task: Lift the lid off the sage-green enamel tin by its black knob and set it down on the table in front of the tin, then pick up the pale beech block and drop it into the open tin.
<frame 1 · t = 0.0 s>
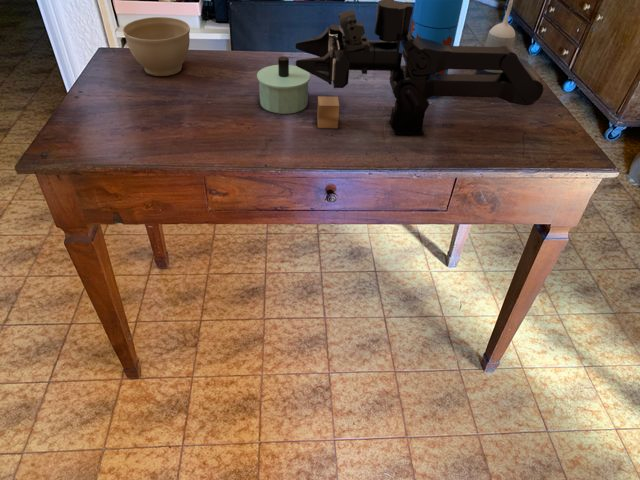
hand: (295, 54, 102), 17 cm above the table, tool horizontal, fingers open, 9 cm apart
block: (327, 123, 115), on the table
thermos: (422, 89, 131), on the table
planter bowl: (163, 70, 133), on the table
tin: (283, 102, 122), on the table
lid: (283, 77, 118), point 6 cm above the table, touching tin
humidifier: (489, 79, 137), on the table
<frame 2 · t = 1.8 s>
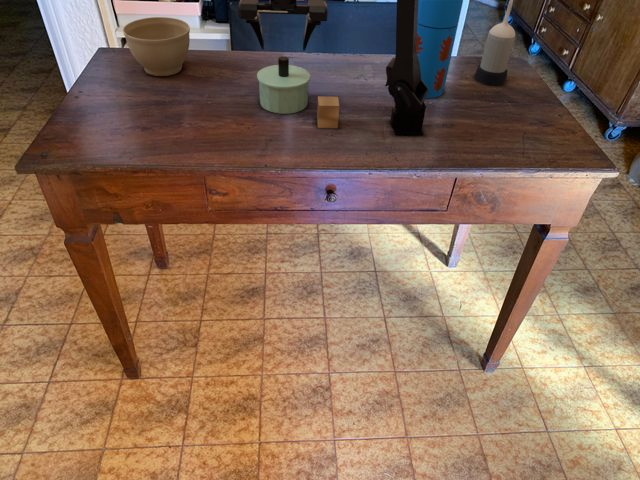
hand: (283, 49, 113), 13 cm above the table, tool pointing down, fingers open, 9 cm apart
nothing on the table moved.
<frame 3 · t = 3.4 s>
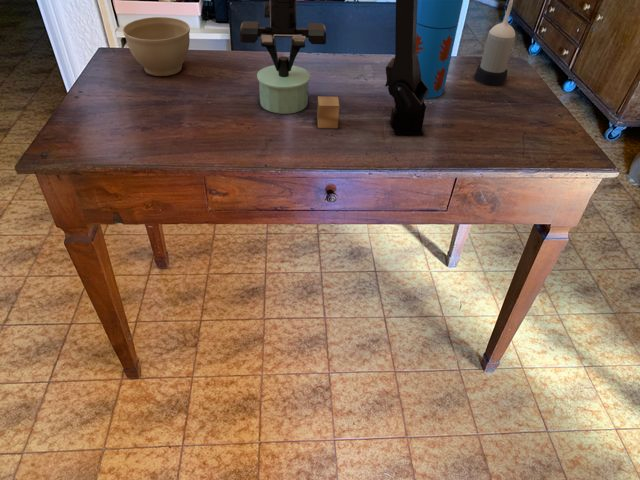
hand: (283, 70, 116), 8 cm above the table, tool pointing down, fingers closed on lid, 2 cm apart
lid: (283, 77, 118), point 6 cm above the table, touching gripper, tin
everything else where it was.
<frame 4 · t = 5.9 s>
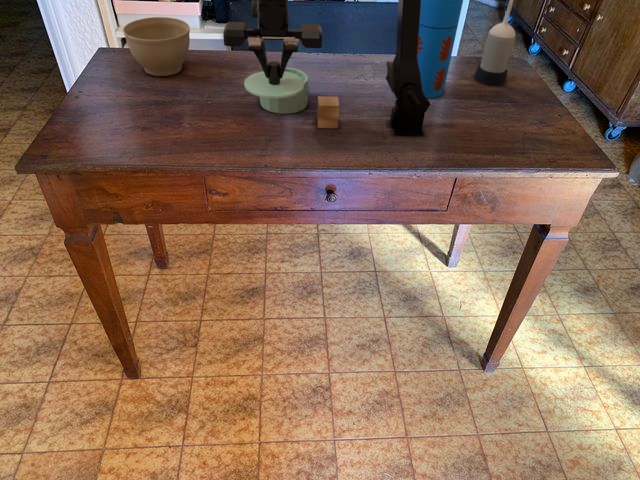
hand: (274, 77, 103), 12 cm above the table, tool pointing down, fingers closed on lid, 2 cm apart
lid: (274, 84, 104), point 11 cm above the table, touching gripper
everything else where it was.
when the fingers open (2 cm above the table, at t = 8.5 s): lid stays where it is, point 1 cm above the table.
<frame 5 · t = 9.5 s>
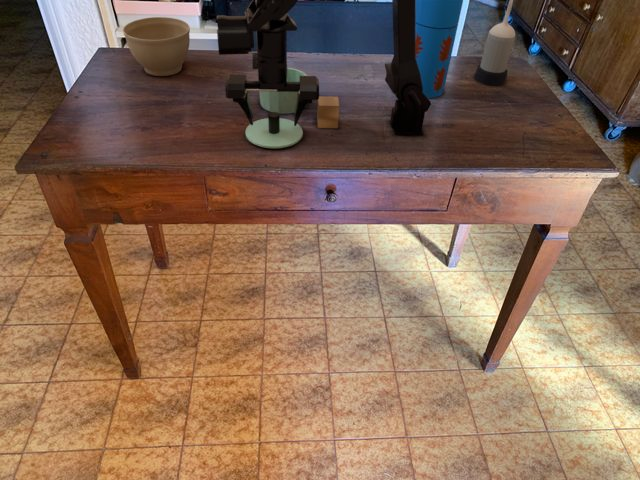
hand: (273, 124, 108), 3 cm above the table, tool pointing down, fingers open, 9 cm apart
lid: (274, 133, 109), point 1 cm above the table
everything else where it was.
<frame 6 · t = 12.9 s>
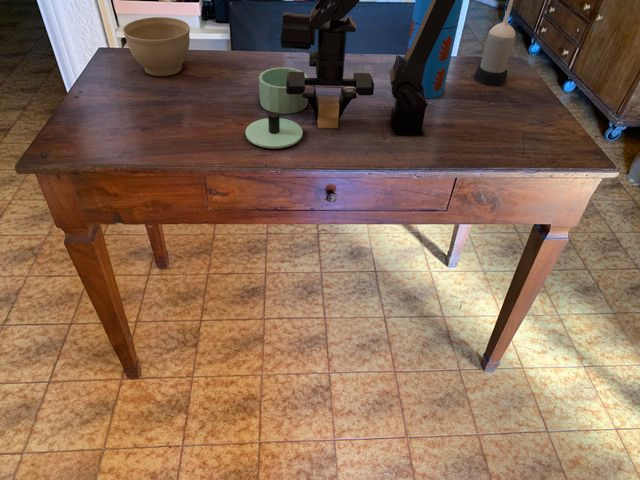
hand: (327, 119, 114), 1 cm above the table, tool pointing down, fingers closed on block, 4 cm apart
block: (327, 123, 115), on the table, touching gripper
everything else where it was.
when the fingers open (6 cm above the table, at t = 17.2 s): block drops 5 cm, resting on tin.
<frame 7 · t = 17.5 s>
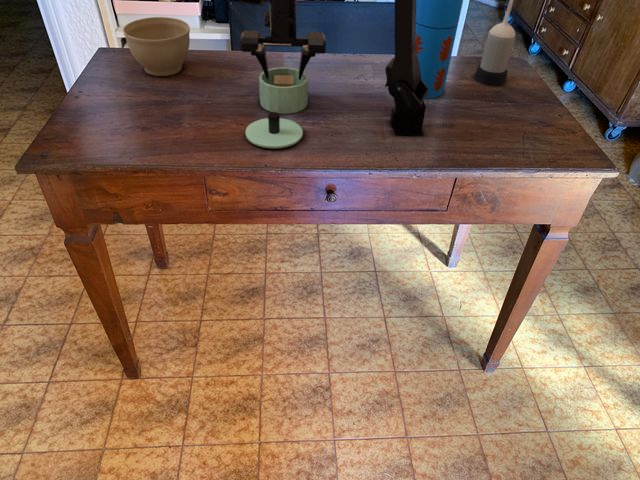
hand: (283, 78, 118), 6 cm above the table, tool pointing down, fingers open, 7 cm apart
block: (284, 101, 121), resting on tin
everything else where it was.
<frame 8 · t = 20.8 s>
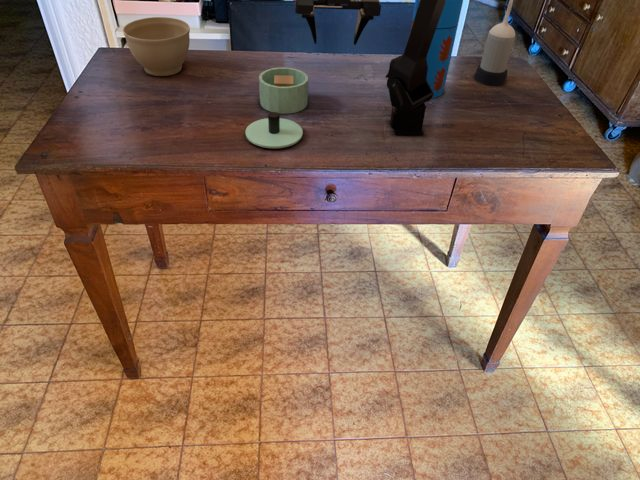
hand: (335, 43, 117), 13 cm above the table, tool pointing down, fingers open, 9 cm apart
nothing on the table moved.
at the end: lid inside the target area (0.0 cm from its centre), point 0.6 cm above the table; lid tilted 0°; block inside the target area in the tin (0.0 cm from its centre), point 0.4 cm above the tin's base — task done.
